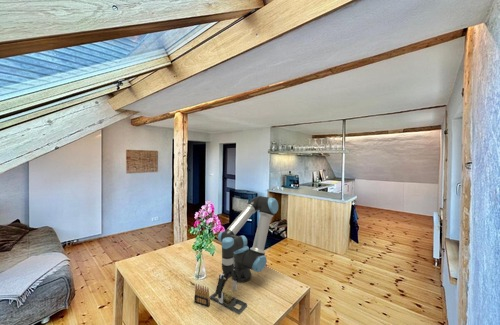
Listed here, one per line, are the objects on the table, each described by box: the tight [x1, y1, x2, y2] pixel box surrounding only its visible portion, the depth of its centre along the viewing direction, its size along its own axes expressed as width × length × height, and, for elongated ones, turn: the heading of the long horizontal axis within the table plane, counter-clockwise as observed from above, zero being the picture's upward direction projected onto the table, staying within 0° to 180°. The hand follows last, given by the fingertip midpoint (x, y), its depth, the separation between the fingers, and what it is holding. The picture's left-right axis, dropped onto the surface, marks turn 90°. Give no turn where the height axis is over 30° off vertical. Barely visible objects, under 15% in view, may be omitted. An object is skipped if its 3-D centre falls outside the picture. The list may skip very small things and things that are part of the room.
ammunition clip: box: [193, 283, 211, 308], centre depth 128 cm, size 11×2×12 cm, turn 67°
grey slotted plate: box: [209, 291, 248, 315], centre depth 129 cm, size 8×24×2 cm, turn 56°
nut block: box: [224, 289, 234, 304], centre depth 129 cm, size 4×4×7 cm
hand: (228, 296), depth 129 cm, fingers open, 13 cm apart
